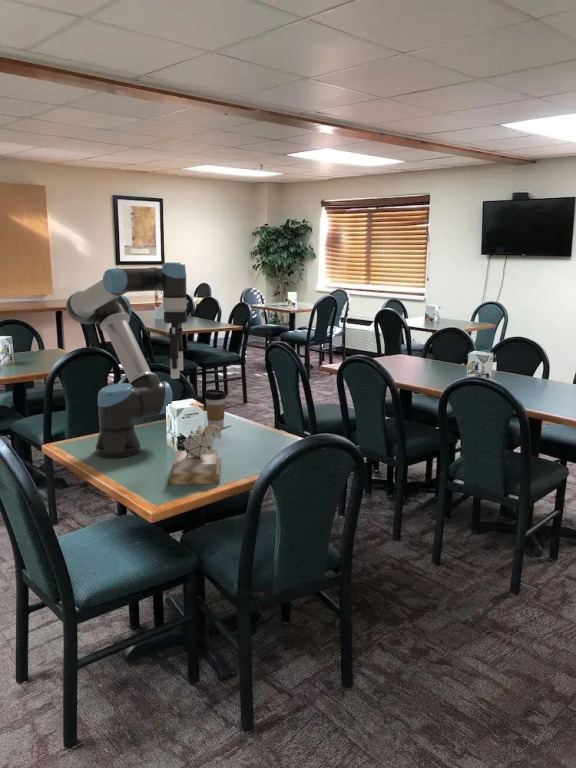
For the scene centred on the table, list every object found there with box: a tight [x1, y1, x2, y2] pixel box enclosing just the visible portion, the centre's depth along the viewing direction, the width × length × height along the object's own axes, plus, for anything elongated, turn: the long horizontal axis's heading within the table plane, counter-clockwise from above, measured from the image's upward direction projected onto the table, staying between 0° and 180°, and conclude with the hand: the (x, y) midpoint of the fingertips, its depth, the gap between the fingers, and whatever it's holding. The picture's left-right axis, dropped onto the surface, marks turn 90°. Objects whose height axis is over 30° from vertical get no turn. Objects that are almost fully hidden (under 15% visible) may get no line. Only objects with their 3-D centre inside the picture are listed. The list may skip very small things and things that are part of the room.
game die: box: [179, 430, 211, 460], centre depth 193 cm, size 9×8×10 cm
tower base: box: [169, 449, 222, 486], centre depth 195 cm, size 15×15×6 cm
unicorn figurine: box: [195, 424, 232, 450], centre depth 210 cm, size 7×20×13 cm, turn 37°
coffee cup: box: [204, 388, 227, 428], centre depth 246 cm, size 8×8×15 cm
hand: (177, 374), depth 207 cm, fingers open, 13 cm apart
